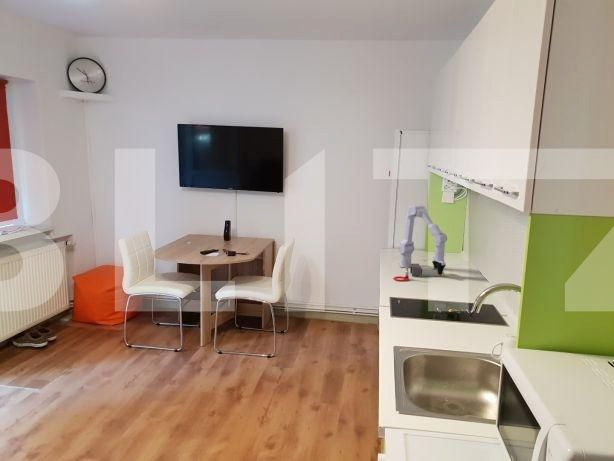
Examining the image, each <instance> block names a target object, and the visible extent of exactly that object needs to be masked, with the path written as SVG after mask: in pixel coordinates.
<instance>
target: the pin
mask: <svg viewBox="0 0 614 461" xmlns="http://www.w3.org/2000/svg"><path fill="white" fill-rule="evenodd" d="M443 272H444V271H443ZM443 272H442V275H438V268H421V276H420V277H443Z"/></svg>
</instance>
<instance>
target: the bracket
mask: <svg viewBox="0 0 614 461" xmlns="http://www.w3.org/2000/svg"><path fill="white" fill-rule="evenodd" d="M420 266H421V265H420V263H413V262H411V268H409V270H410V272H409V273H410V274H411V277H412V278H421V277H422V276H421V267H420Z"/></svg>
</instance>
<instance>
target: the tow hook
mask: <svg viewBox="0 0 614 461" xmlns="http://www.w3.org/2000/svg"><path fill="white" fill-rule="evenodd" d="M409 276H410V275H409V268H408V259H407V260H406V268H405V276H403V275H402V276H393V278H392V280H393V279H394V280H393V281H395V282H406V281H407V282H409V281H410V279H409V278H410V277H409Z"/></svg>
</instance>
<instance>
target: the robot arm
mask: <svg viewBox="0 0 614 461" xmlns="http://www.w3.org/2000/svg"><path fill="white" fill-rule="evenodd" d="M407 209H408V211H407V213H406V216H405V225H404V234H403V239H402V240H401V241H400V244H399V247H398V252H399V254H400V259H399V263H398V265H399V267H400V268H405V269H406V260H407V259H408V269H410V268H411V263H412V254H413V252H414V251H415V245H414V241H413V232H414V226H415V218H417V217H418V218H422V220H423V222H425V224H426V225H427V226H428V231H429V232H430V234H431V235H432V236H433V241H434V242H433V243H434V245H435V246H434V256H432V261H431V263H432V265H433V267H434V268H438V275H442V276H443V273H442V272H444V269H445V268H446V267H447V265H446V261H445V251H446V250H445V248H446V242H447V240H448V237H447V234H446V233H444V232H442V230H441V229H440V228H439V224H438V225H437V224H435V223H434V222H433V220H432V219H431V217H430V216H429V214H428V212H427V208H426V207H425V205H423V204H419V205H411V206H410V207H408V208H407Z"/></svg>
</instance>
